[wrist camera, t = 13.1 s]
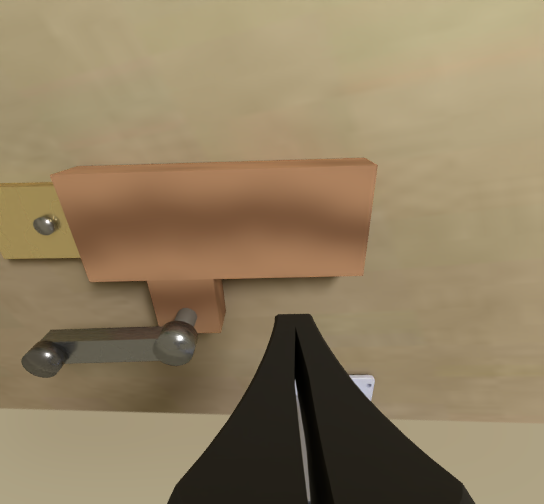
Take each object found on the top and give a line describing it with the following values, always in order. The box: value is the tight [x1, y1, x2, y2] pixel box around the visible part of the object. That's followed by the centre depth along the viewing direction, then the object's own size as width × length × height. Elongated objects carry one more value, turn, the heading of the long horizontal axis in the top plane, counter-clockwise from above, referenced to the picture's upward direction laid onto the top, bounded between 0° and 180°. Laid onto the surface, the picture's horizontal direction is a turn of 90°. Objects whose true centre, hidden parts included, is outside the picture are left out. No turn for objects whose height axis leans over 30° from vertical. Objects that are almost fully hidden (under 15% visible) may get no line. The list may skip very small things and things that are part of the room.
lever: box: [21, 321, 198, 378], centre depth 18 cm, size 10×2×2 cm, turn 92°
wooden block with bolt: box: [0, 182, 81, 259], centre depth 19 cm, size 5×6×2 cm
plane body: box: [50, 158, 378, 333], centre depth 19 cm, size 12×18×4 cm, turn 92°
